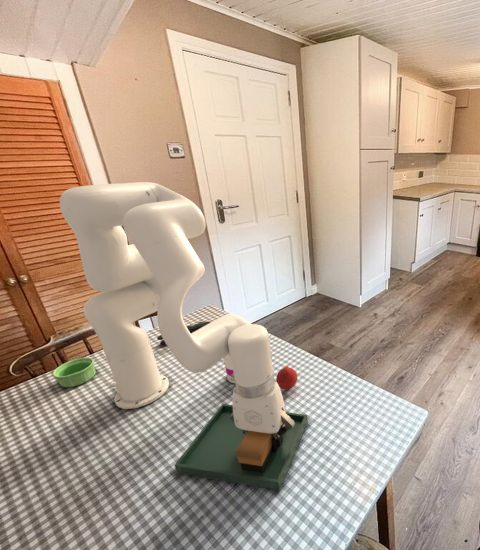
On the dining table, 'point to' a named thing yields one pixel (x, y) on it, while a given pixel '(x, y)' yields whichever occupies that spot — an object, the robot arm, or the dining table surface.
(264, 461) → the tan wooden block
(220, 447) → the tray
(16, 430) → the dining table surface
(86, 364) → the ramekin
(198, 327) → the can opener
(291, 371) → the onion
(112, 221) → the robot arm
